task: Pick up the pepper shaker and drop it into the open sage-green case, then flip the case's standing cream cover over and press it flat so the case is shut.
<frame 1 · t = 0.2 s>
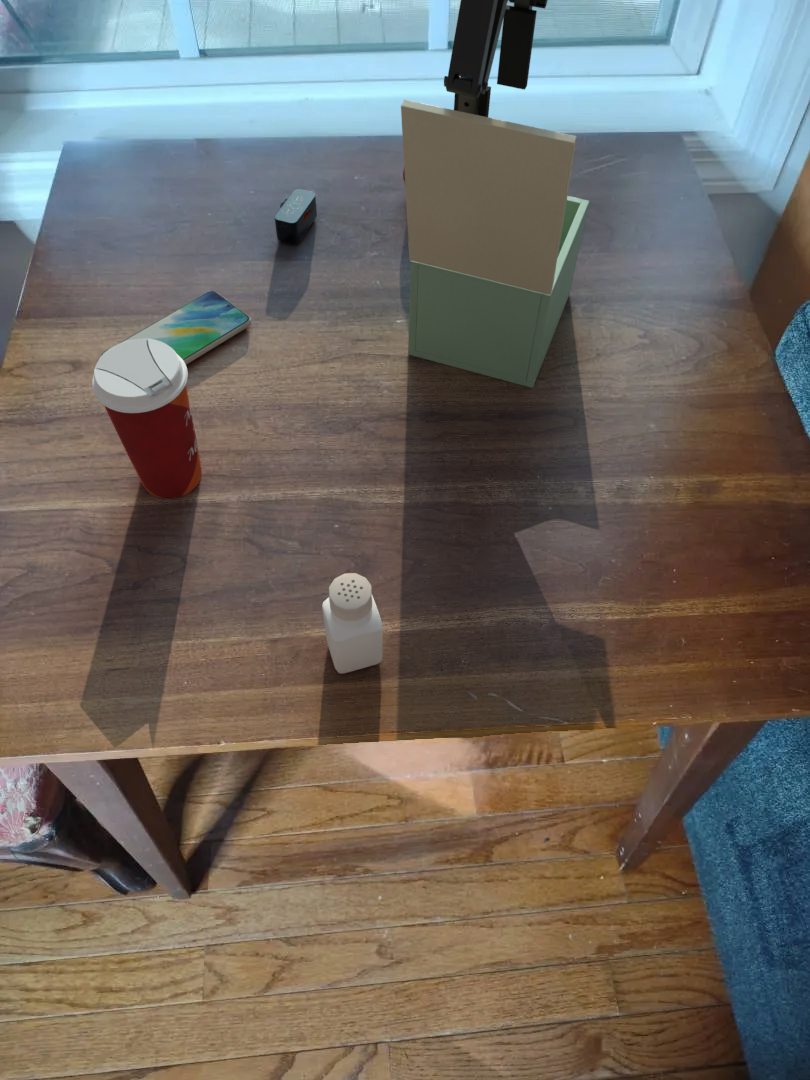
hand: (490, 122, 77), 22 cm above the table, tool pointing down, fingers open, 13 cm apart
case: (491, 323, 94), on the table
cover: (483, 205, 72), point 20 cm above the table, hinge at 100.0°
pepper shaker: (354, 651, 71), on the table
paper cup: (172, 476, 81), on the table
smartphone: (178, 343, 91), on the table
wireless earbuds: (294, 226, 103), on the table
pomegranate: (442, 202, 106), on the table
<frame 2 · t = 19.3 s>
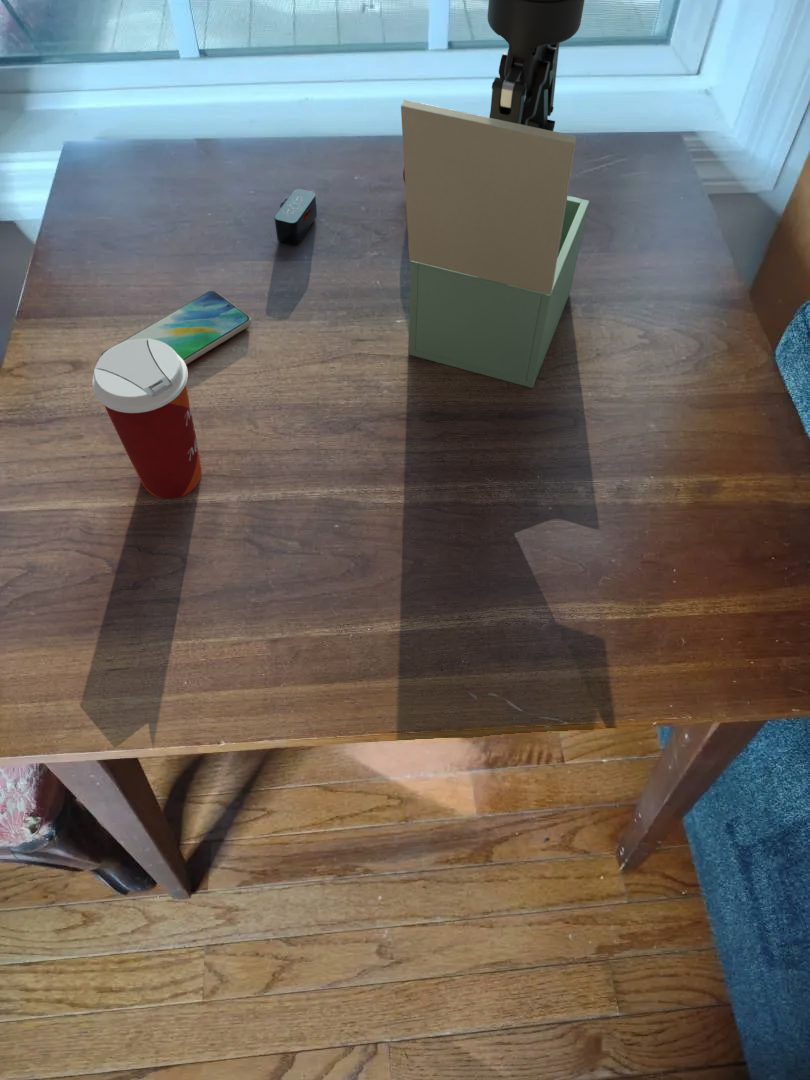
hand: (506, 225, 85), 11 cm above the table, tool pointing down, fingers open, 10 cm apart
pepper shaker: (499, 300, 93), point 2 cm above the table, touching case
everything else where it was.
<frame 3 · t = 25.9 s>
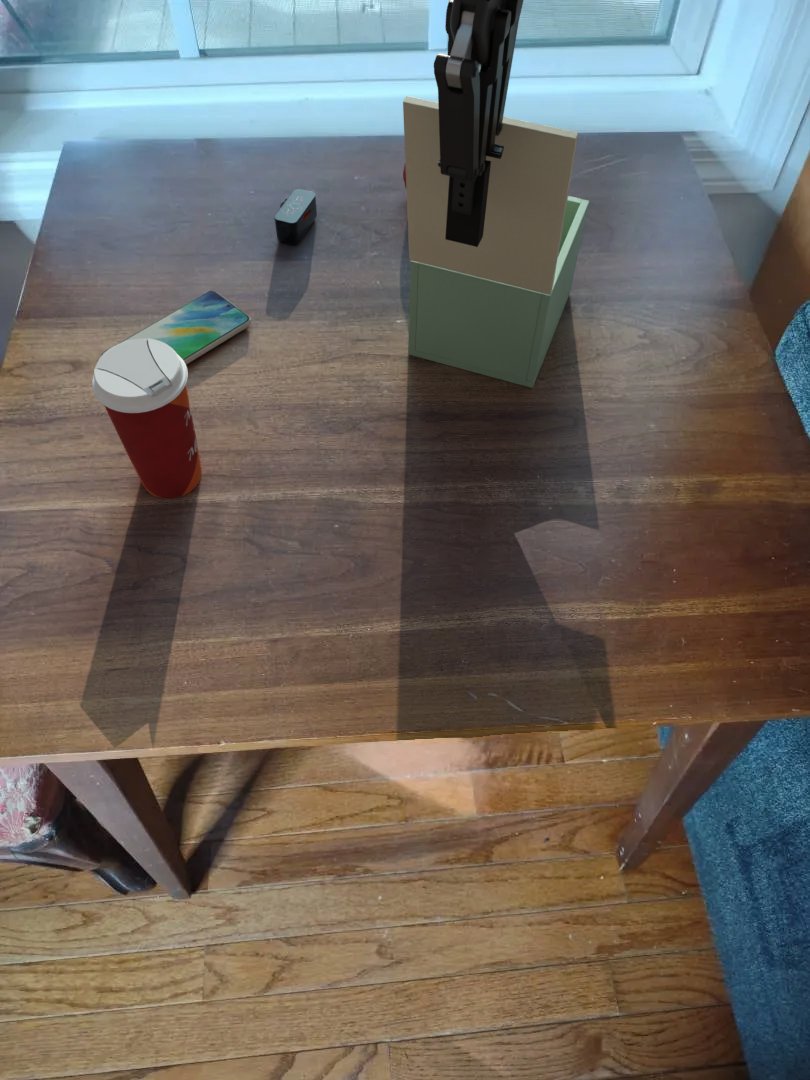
hand: (464, 237, 69), 21 cm above the table, tool pointing down, fingers closed
cover: (484, 203, 72), point 20 cm above the table, hinge at 98.4°
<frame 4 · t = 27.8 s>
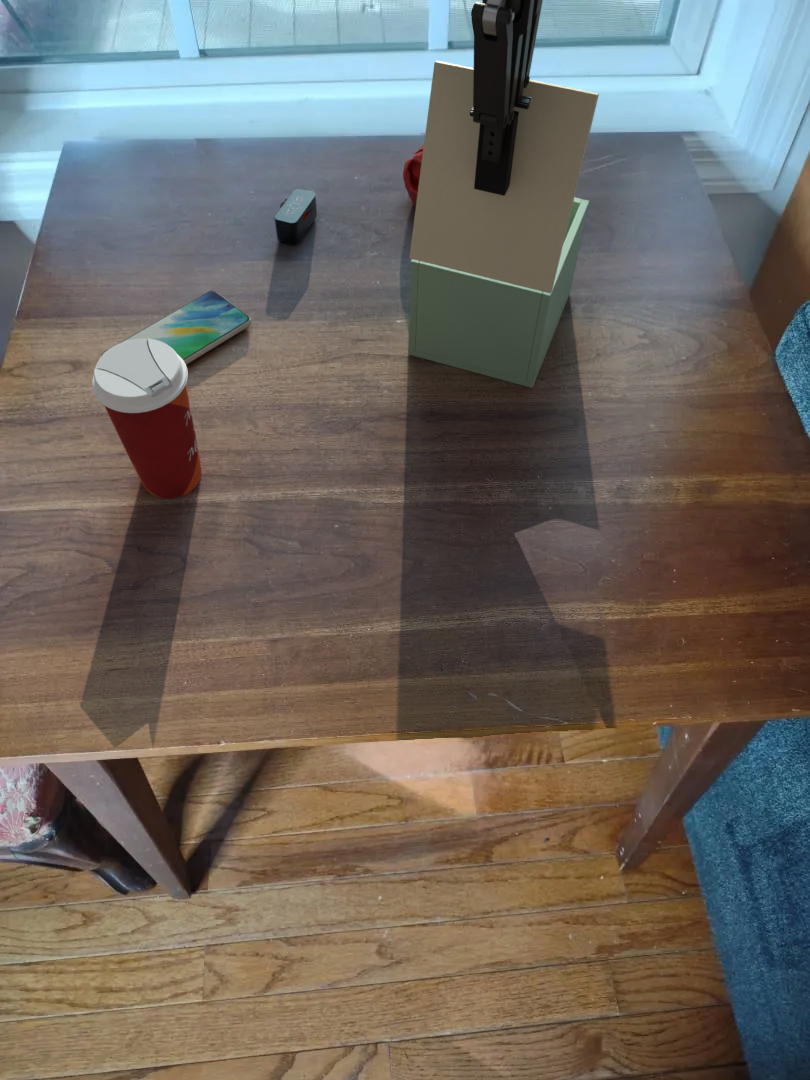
hand: (491, 187, 73), 20 cm above the table, tool pointing down, fingers closed
cover: (496, 182, 74), point 20 cm above the table, hinge at 72.0°, touching gripper
everything else where it was.
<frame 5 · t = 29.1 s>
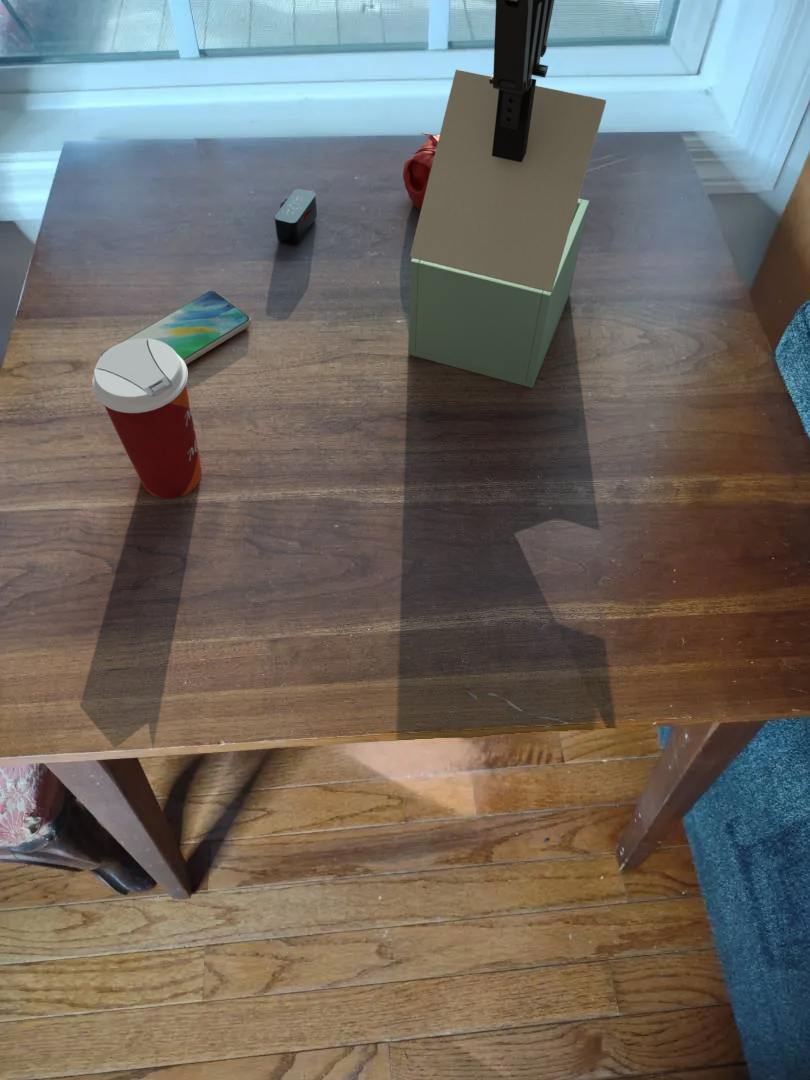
hand: (508, 154, 76), 20 cm above the table, tool pointing down, fingers closed
cover: (504, 182, 78), point 18 cm above the table, hinge at 46.5°, touching gripper
everything else where it was.
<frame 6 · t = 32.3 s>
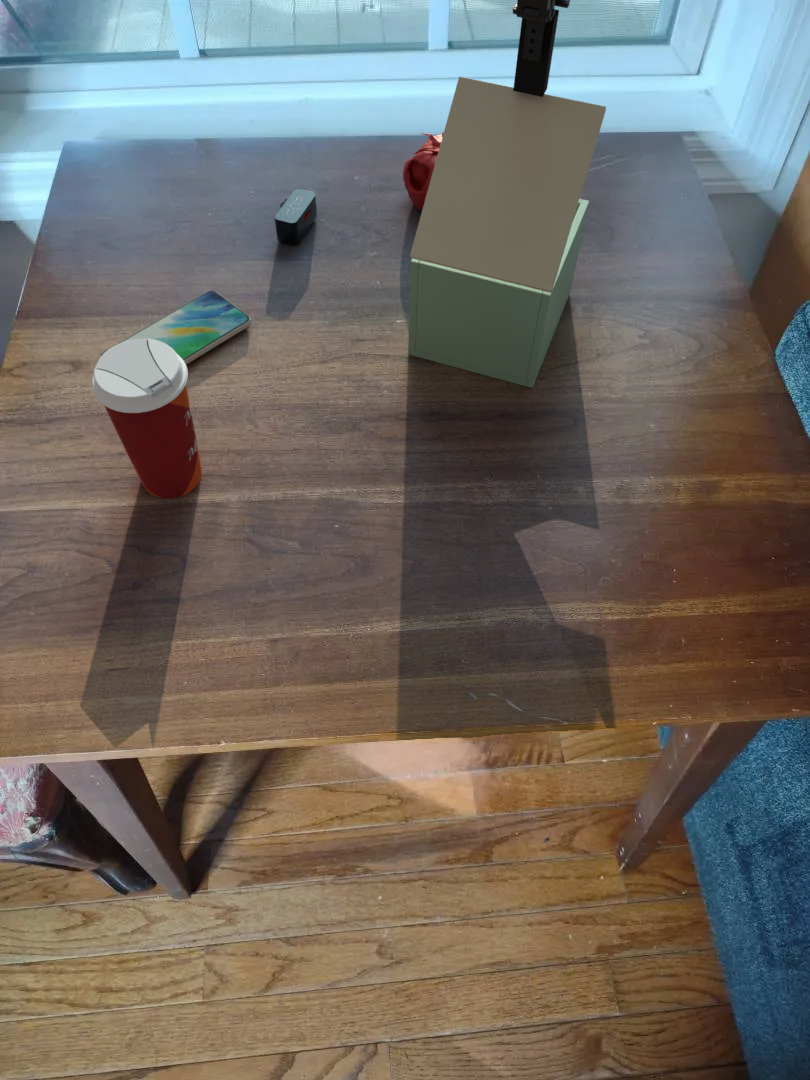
hand: (530, 89, 77), 23 cm above the table, tool pointing down, fingers closed
cover: (505, 184, 78), point 18 cm above the table, hinge at 40.6°, touching gripper
everything else where it was.
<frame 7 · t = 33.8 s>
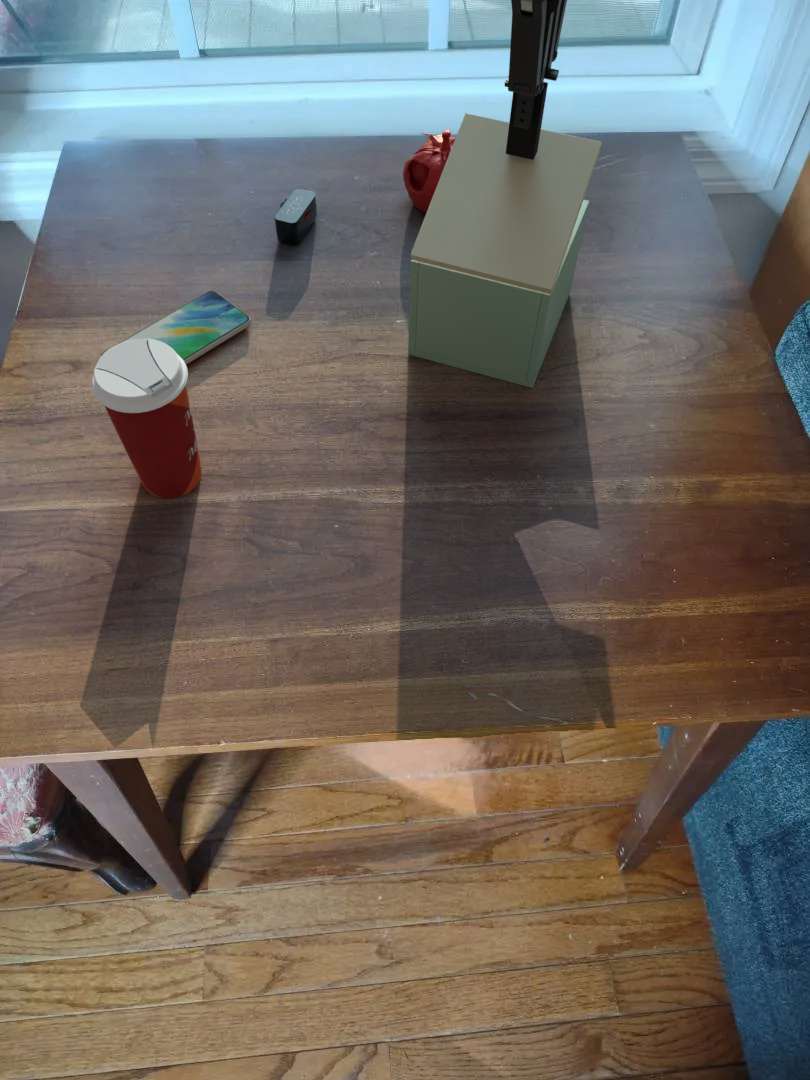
hand: (521, 152, 81), 18 cm above the table, tool pointing down, fingers closed
cover: (506, 200, 81), point 15 cm above the table, hinge at 20.0°, touching gripper
everything else where it was.
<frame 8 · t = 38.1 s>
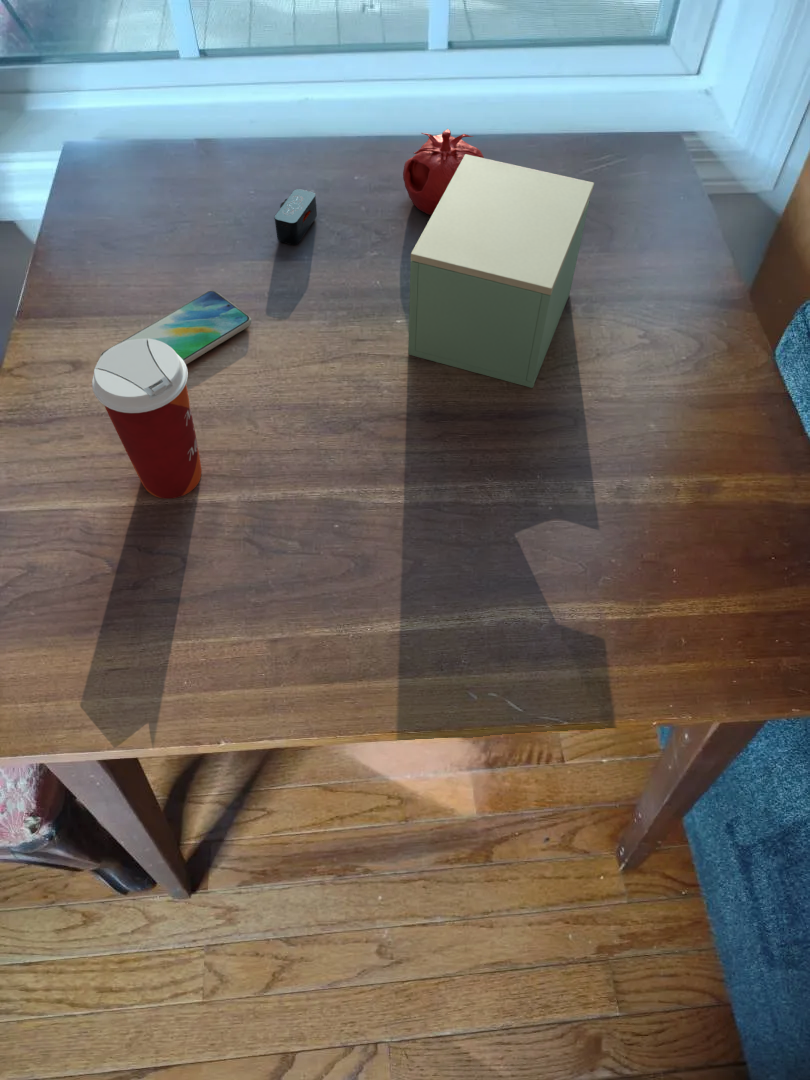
cover: (505, 220, 84), point 13 cm above the table, hinge at 2.4°
everything else where it was.
at the end: pepper shaker inside the target area in the case (1.3 cm from its centre), point 2.3 cm above the case's base; cover at +2° (first picture: +100°) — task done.
